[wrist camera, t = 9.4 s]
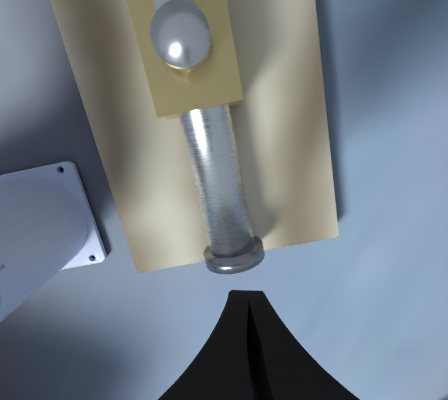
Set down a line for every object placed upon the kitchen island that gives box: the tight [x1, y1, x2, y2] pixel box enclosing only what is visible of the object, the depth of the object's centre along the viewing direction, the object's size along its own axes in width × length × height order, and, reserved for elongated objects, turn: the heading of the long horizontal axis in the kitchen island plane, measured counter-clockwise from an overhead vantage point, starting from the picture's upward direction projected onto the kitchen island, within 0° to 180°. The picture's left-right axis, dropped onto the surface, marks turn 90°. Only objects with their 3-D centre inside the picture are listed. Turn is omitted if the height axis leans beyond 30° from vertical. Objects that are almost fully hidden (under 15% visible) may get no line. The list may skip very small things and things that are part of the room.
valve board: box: [50, 0, 339, 273], centre depth 17 cm, size 15×26×2 cm, turn 12°
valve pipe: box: [127, 0, 265, 274], centre depth 15 cm, size 4×25×6 cm, turn 11°
